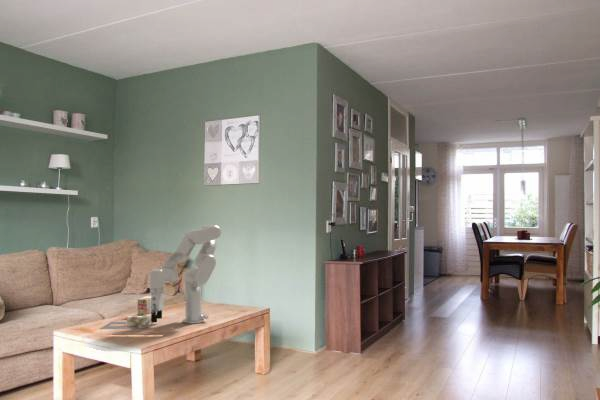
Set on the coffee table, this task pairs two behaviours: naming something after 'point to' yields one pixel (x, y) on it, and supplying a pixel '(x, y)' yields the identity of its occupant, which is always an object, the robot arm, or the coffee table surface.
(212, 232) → the robot arm
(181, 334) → the coffee table surface
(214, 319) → the coffee table surface
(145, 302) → the stack of blocks
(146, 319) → the T block
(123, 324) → the board
